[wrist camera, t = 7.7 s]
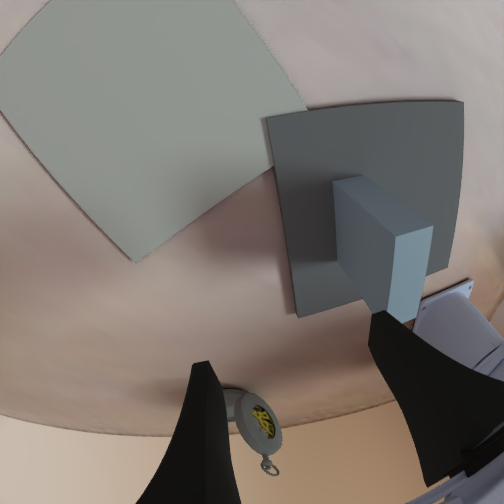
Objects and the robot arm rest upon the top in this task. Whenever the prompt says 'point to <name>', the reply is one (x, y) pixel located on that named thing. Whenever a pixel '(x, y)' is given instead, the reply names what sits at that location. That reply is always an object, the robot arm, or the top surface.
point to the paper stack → (145, 108)
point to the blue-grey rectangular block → (381, 246)
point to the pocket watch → (254, 423)
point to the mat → (373, 167)
